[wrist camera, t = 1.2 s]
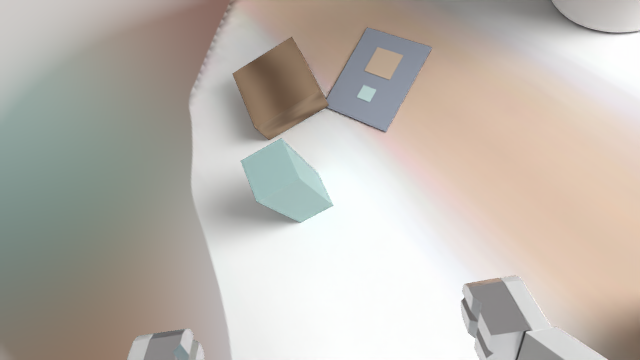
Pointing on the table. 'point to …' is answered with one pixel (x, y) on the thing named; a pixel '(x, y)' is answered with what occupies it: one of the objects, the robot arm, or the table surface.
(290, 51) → the base block
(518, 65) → the table surface
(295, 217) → the pillar
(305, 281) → the table surface
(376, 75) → the blueprint tile
